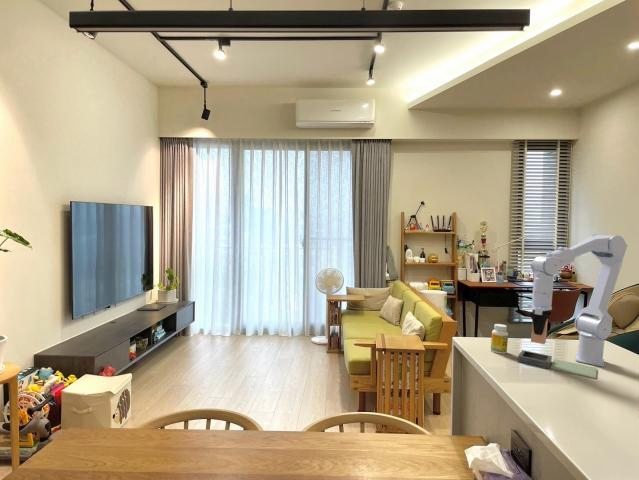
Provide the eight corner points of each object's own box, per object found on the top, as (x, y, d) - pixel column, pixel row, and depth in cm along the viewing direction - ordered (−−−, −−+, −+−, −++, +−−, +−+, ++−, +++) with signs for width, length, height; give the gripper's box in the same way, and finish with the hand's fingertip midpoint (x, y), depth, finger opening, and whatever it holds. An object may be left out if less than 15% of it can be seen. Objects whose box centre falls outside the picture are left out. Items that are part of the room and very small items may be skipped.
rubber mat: (554, 359, 137) (554, 358, 137) (596, 369, 131) (596, 367, 131) (550, 368, 128) (550, 367, 128) (596, 379, 121) (596, 377, 121)
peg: (532, 339, 136) (534, 316, 136) (545, 341, 134) (547, 318, 134) (530, 341, 133) (532, 317, 133) (544, 344, 131) (546, 320, 130)
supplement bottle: (494, 348, 147) (496, 322, 146) (509, 352, 143) (511, 325, 143) (487, 351, 143) (490, 324, 143) (503, 355, 139) (505, 327, 139)
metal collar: (521, 355, 140) (522, 350, 140) (551, 362, 135) (551, 356, 135) (517, 361, 133) (518, 355, 133) (548, 368, 127) (549, 362, 127)
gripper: (532, 288, 141) (528, 326, 141) (525, 293, 129) (522, 334, 130) (555, 291, 137) (551, 331, 137) (550, 296, 125) (547, 339, 126)
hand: (539, 333), depth 133 cm, fingers closed on peg, 4 cm apart
